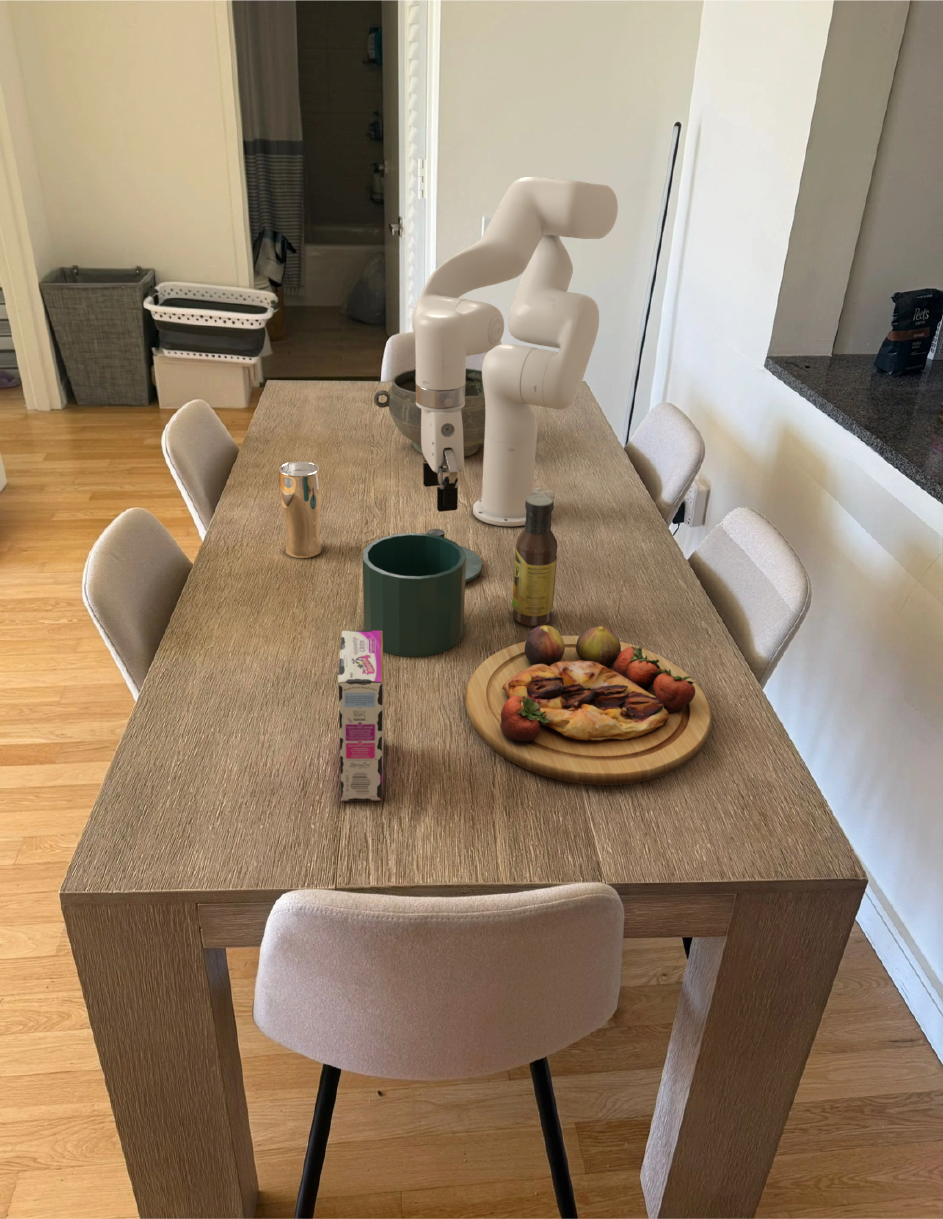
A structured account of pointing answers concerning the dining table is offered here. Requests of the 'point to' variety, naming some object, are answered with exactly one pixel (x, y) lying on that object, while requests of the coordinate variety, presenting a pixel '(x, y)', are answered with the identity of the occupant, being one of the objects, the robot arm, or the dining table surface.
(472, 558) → the tin lid
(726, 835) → the dining table surface
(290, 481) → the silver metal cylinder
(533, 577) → the sauce bottle
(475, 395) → the bowl
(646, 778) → the wooden plate
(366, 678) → the candy bar box
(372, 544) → the tin
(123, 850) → the dining table surface
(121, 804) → the dining table surface
